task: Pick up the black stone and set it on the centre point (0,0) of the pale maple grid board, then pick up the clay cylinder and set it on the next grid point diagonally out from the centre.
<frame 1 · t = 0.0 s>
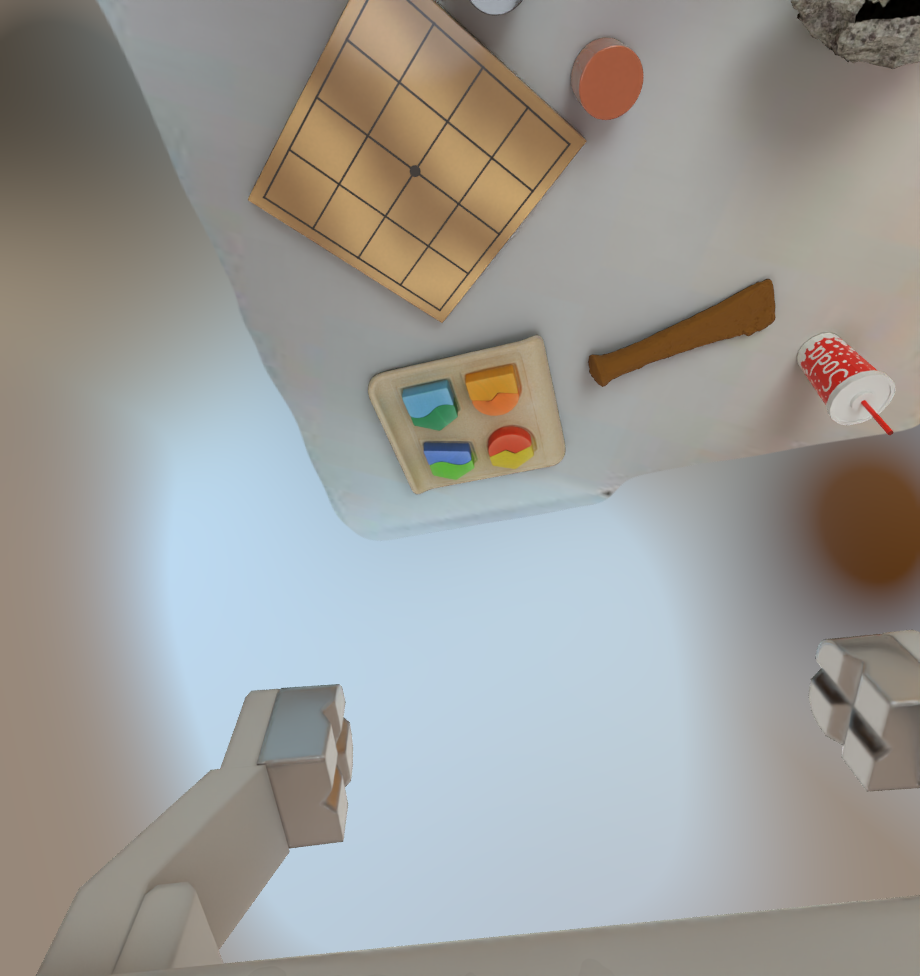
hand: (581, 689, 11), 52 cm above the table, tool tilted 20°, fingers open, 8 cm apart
beverage cup: (818, 350, 70), on the table
primitive tool: (679, 327, 66), on the table
puzzle board: (471, 414, 72), on the table
go board: (414, 166, 54), on the table
clay cylinder: (601, 74, 50), on the table
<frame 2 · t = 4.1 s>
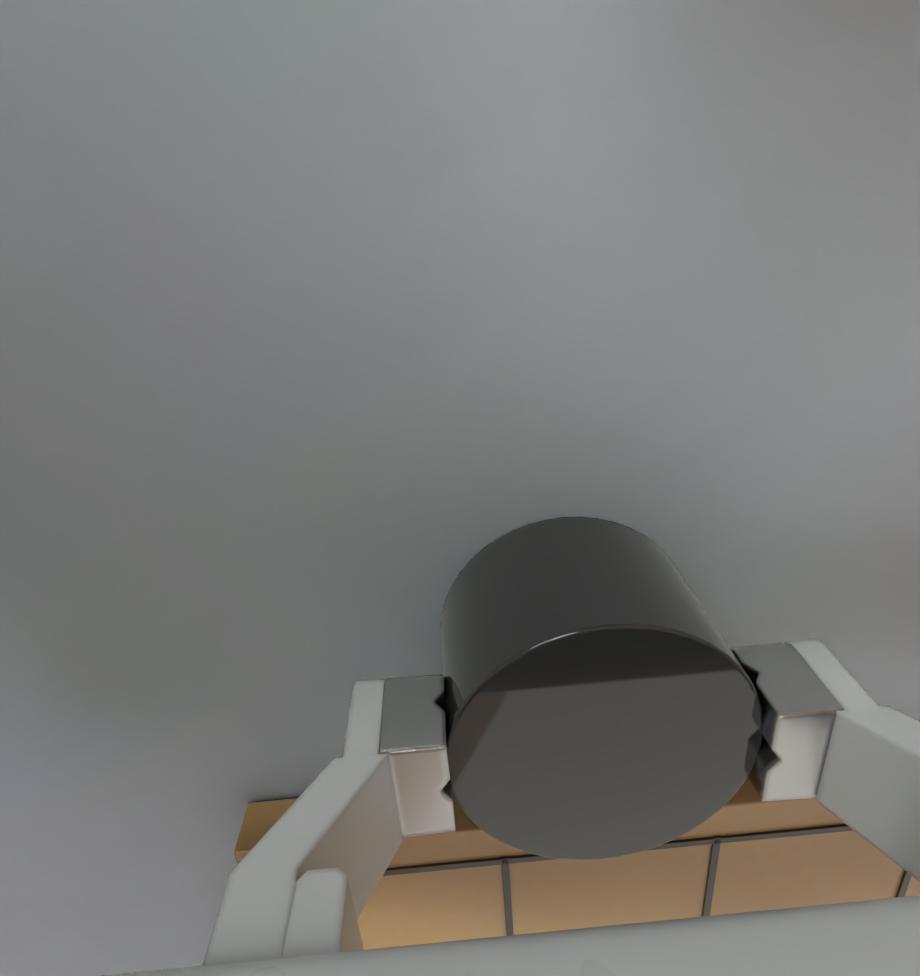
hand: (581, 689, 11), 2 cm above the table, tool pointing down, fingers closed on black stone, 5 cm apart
black stone: (563, 624, 13), on the table, touching gripper
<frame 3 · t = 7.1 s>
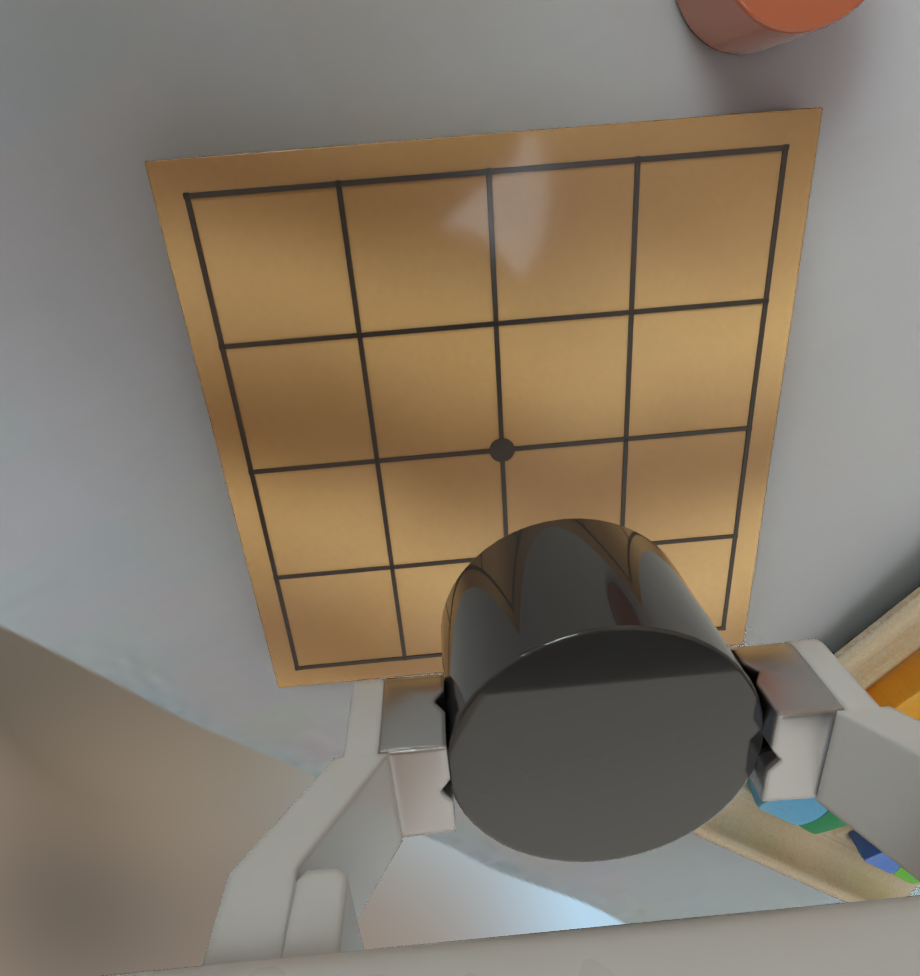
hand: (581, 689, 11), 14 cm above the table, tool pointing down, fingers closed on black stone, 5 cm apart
black stone: (563, 626, 13), point 13 cm above the table, touching gripper
puzzle board: (907, 733, 32), on the table
go board: (498, 437, 24), on the table
when the fingers open (3 cm above the table, at t = 10.1 s): black stone stays where it is, resting on go board.
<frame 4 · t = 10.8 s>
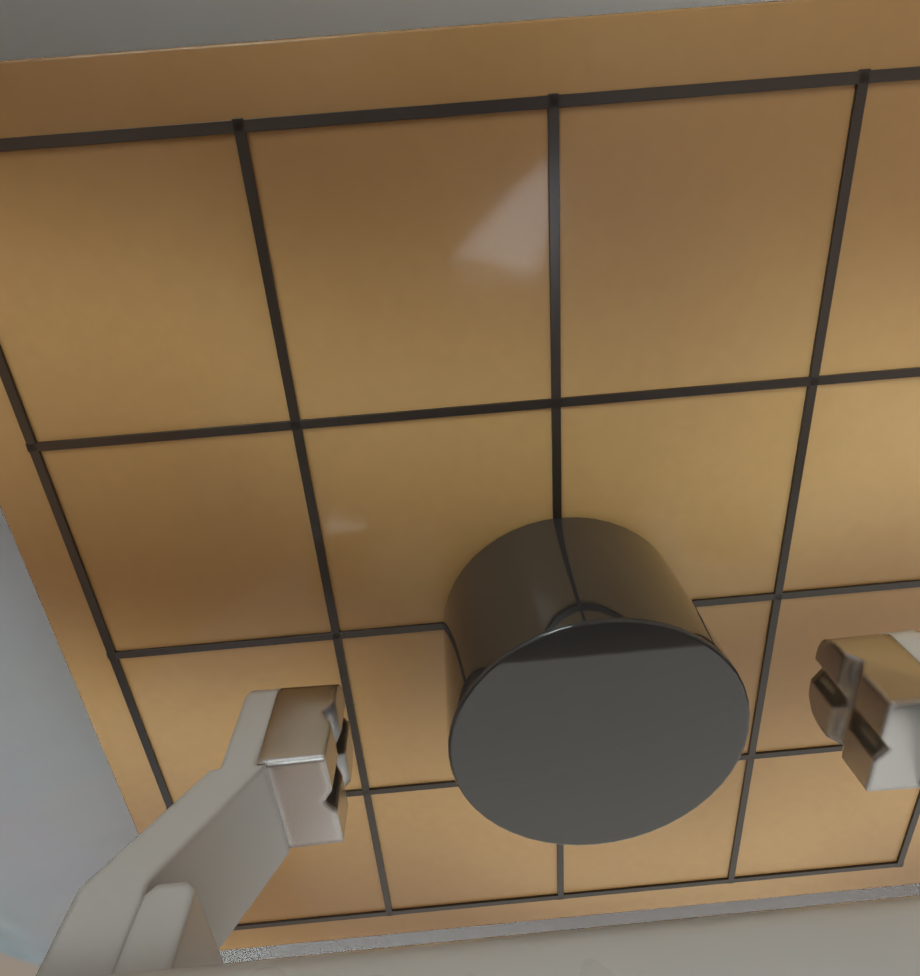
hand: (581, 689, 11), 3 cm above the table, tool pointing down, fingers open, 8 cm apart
black stone: (561, 620, 13), point 1 cm above the table, touching go board
go board: (547, 581, 14), on the table
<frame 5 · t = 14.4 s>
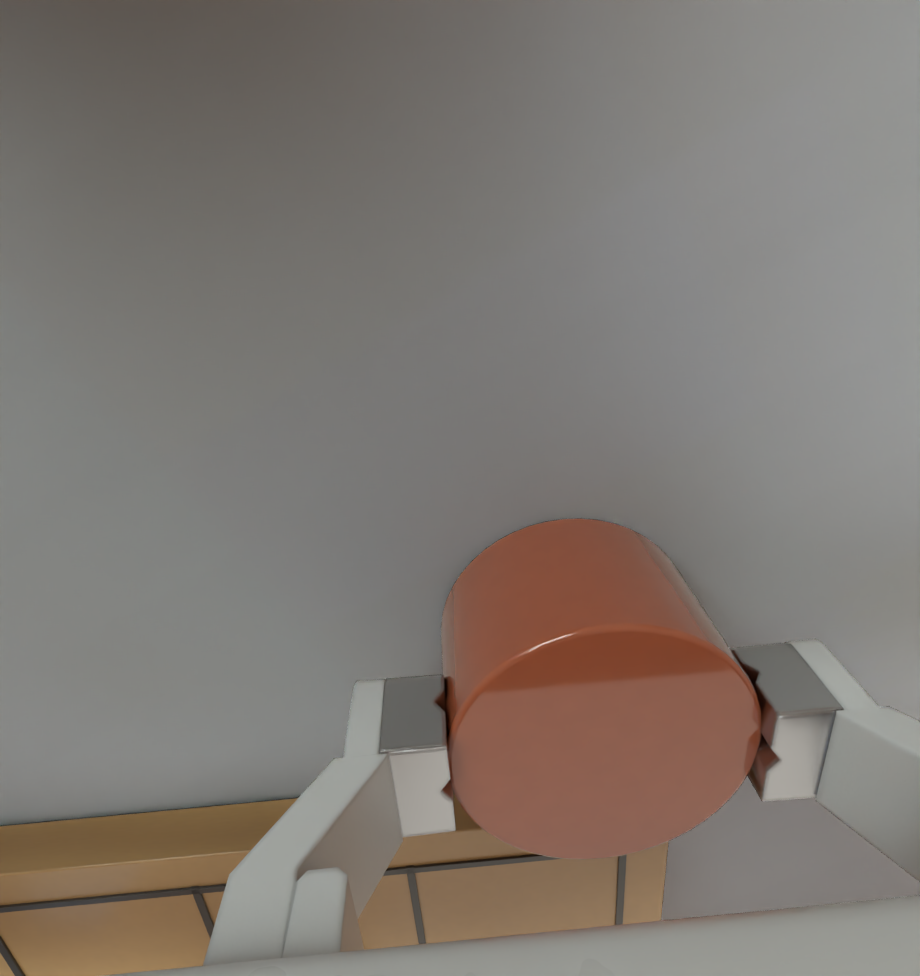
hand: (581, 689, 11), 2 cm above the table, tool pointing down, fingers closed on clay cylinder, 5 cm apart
clay cylinder: (563, 625, 13), on the table, touching gripper
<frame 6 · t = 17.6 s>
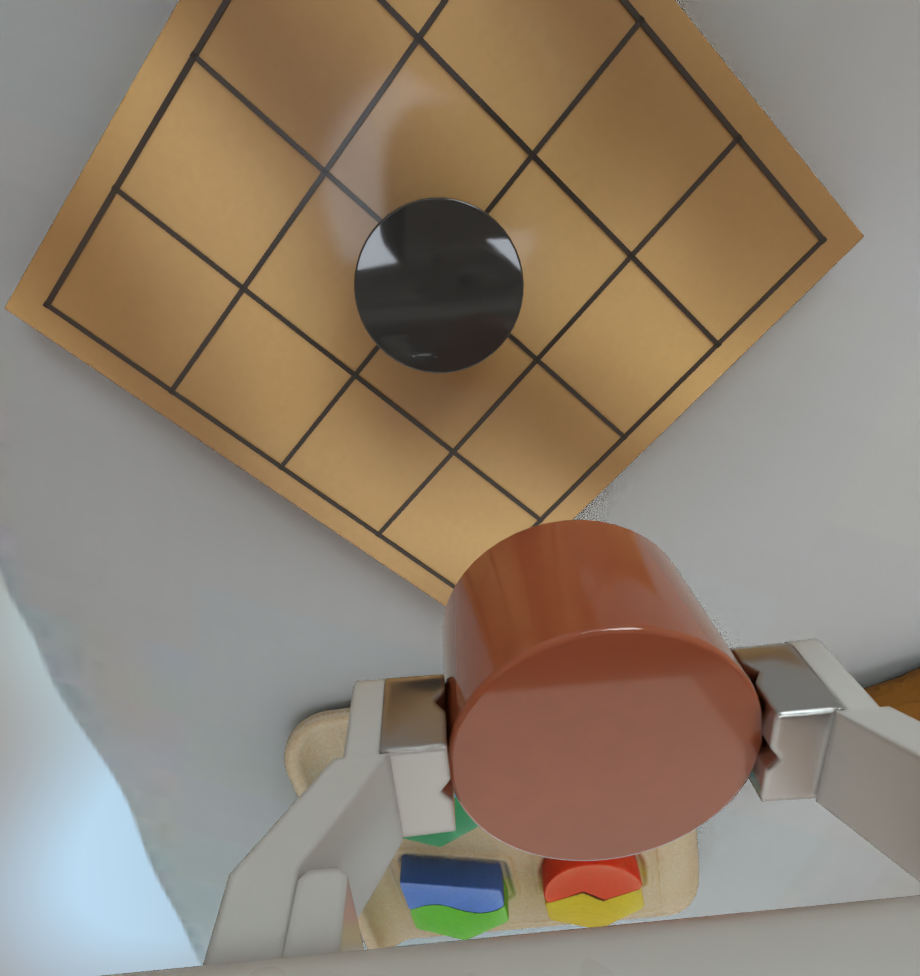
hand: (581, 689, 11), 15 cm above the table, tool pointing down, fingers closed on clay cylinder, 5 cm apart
black stone: (437, 275, 21), point 1 cm above the table, touching go board
puzzle board: (509, 799, 34), on the table
go board: (437, 267, 22), on the table
clay cylinder: (564, 626, 13), point 13 cm above the table, touching gripper
when the fingers open (3 cm above the table, at t = 20.8 s): clay cylinder stays where it is, resting on go board.
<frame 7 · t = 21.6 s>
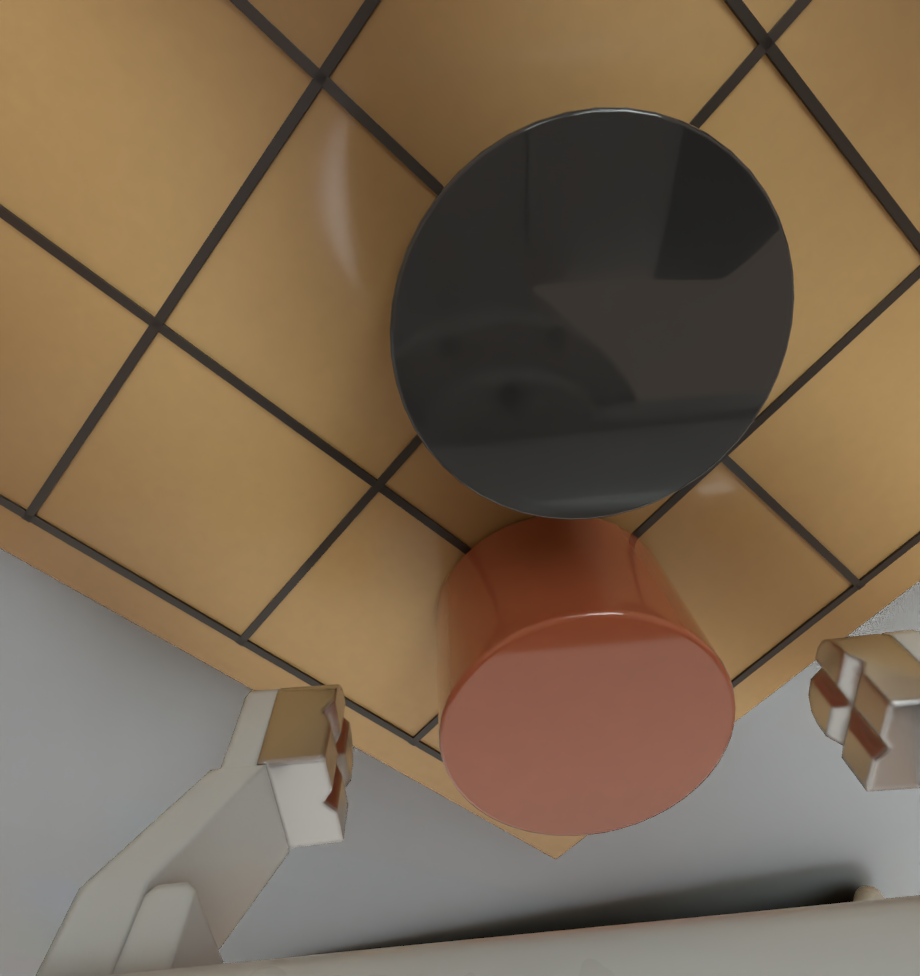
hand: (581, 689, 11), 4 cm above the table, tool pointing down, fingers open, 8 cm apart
black stone: (546, 299, 10), point 1 cm above the table, touching go board
go board: (536, 282, 12), on the table
clay cylinder: (552, 616, 13), point 1 cm above the table, touching go board
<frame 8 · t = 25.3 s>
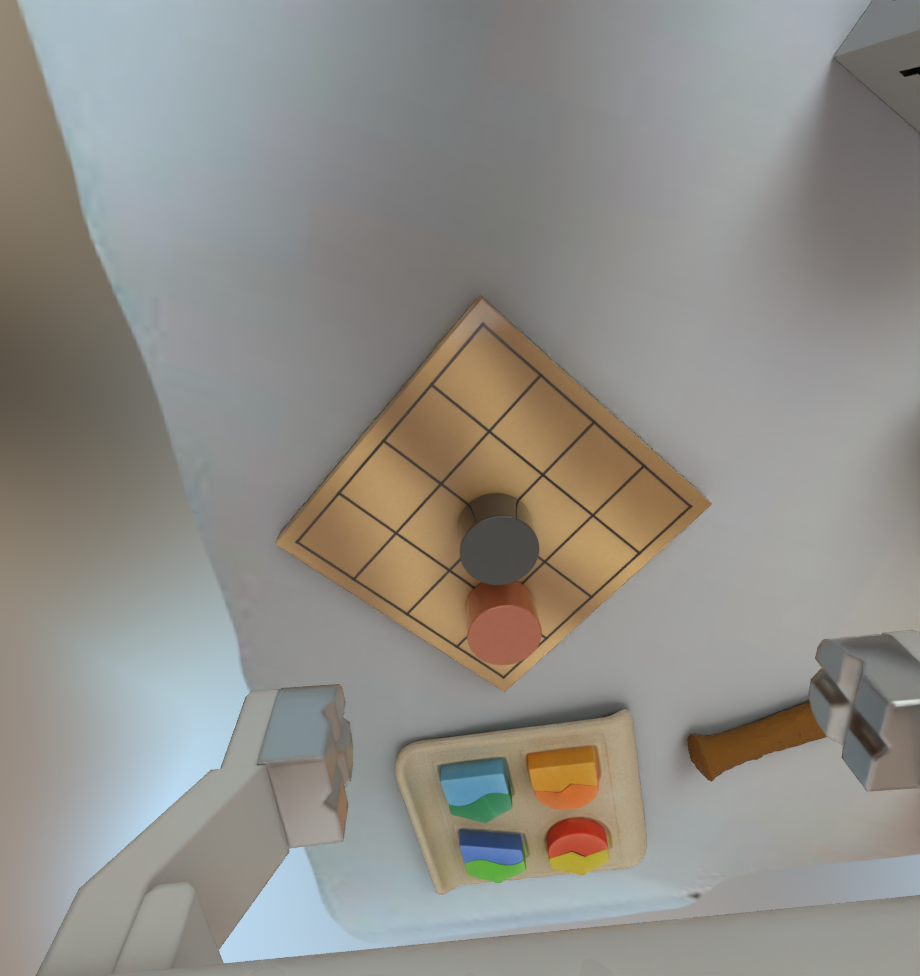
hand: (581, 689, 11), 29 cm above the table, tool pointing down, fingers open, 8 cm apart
black stone: (494, 526, 41), point 1 cm above the table, touching go board
primitive tool: (804, 705, 51), on the table
puzzle board: (526, 794, 54), on the table
go board: (492, 515, 42), on the table
clay cylinder: (499, 606, 44), point 1 cm above the table, touching go board
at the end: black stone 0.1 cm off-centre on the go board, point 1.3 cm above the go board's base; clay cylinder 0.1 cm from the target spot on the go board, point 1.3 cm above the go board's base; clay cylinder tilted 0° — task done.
